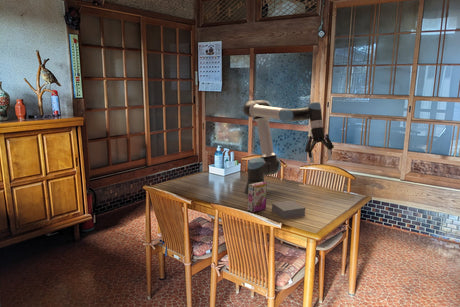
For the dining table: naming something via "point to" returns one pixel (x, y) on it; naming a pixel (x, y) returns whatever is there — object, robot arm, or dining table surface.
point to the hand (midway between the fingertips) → (321, 161)
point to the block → (288, 209)
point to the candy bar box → (257, 196)
